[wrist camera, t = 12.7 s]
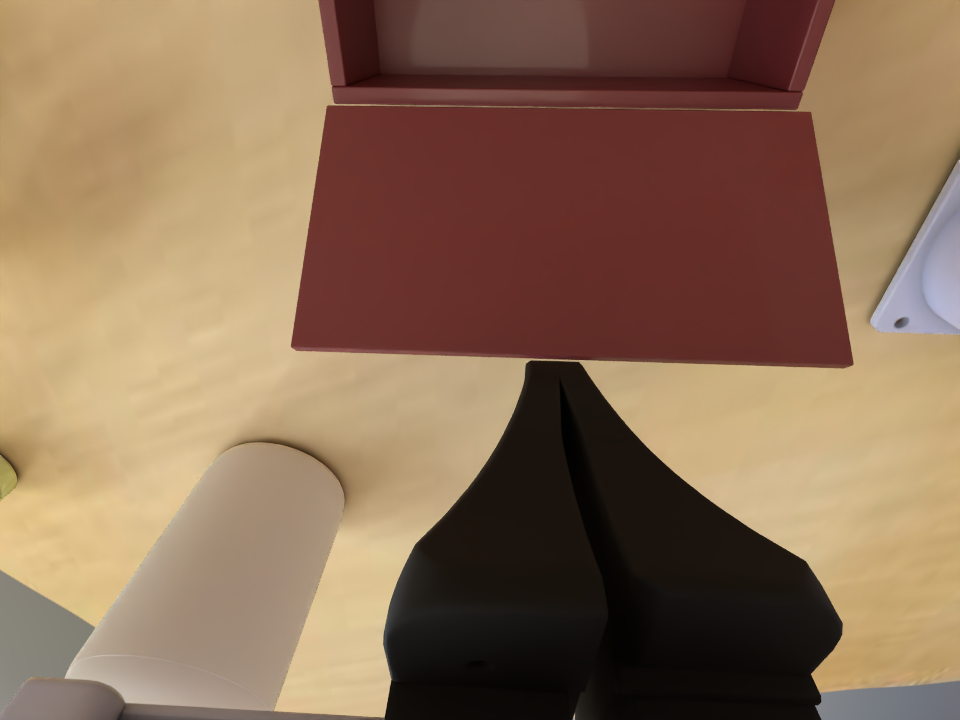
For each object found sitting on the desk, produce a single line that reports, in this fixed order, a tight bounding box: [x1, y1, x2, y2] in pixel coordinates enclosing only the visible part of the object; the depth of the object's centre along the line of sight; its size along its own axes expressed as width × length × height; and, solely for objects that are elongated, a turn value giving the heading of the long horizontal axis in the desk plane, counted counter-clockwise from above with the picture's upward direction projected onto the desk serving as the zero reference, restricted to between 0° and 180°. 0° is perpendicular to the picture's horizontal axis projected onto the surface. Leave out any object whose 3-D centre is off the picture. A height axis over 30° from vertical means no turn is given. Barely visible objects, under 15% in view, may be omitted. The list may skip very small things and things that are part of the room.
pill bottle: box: [64, 442, 345, 711], centre depth 22 cm, size 8×8×15 cm
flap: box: [291, 105, 854, 368], centre depth 11 cm, size 12×6×1 cm
